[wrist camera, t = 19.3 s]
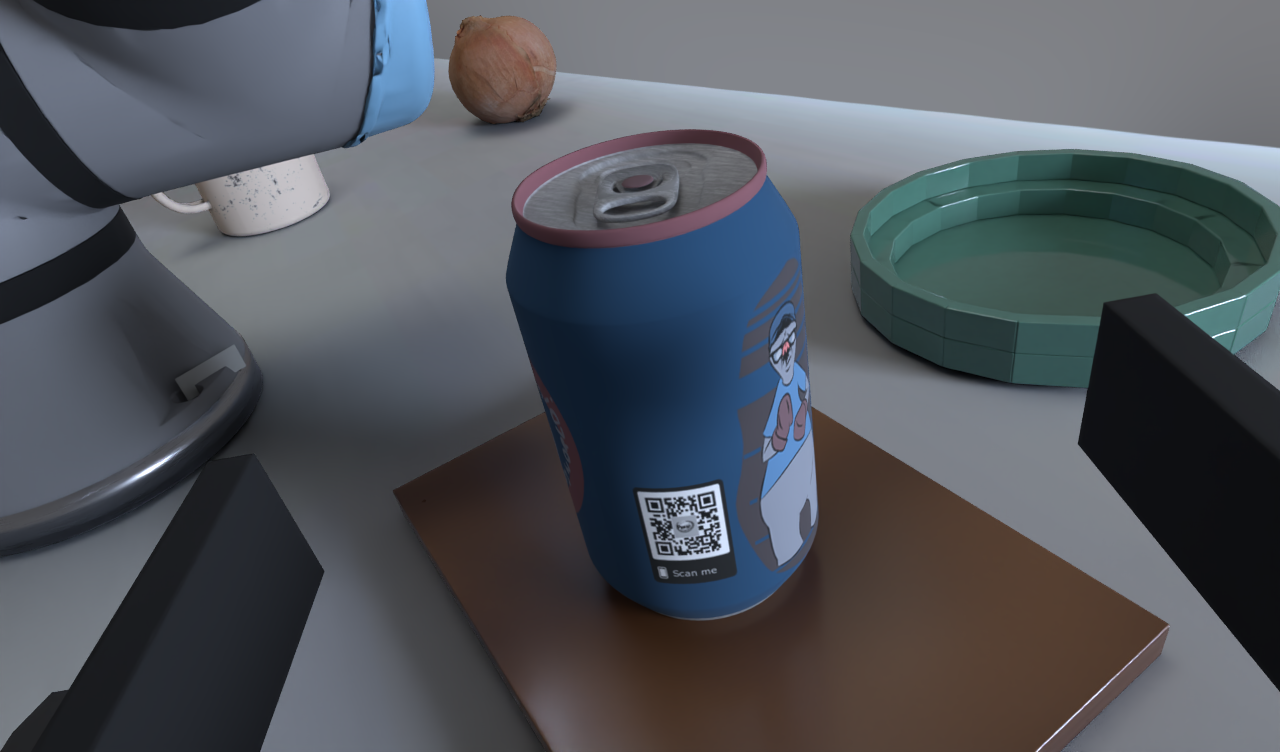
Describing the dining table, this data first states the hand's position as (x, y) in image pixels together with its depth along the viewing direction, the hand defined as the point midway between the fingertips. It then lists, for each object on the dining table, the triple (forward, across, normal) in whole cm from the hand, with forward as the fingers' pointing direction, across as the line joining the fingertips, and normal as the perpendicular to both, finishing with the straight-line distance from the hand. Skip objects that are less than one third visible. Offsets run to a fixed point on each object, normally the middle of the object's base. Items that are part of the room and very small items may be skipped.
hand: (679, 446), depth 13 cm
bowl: (+20, +17, -11) cm, 29 cm away
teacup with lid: (+49, -30, -12) cm, 59 cm away
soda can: (+7, 0, -10) cm, 13 cm away
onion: (+64, -10, -12) cm, 65 cm away
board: (+7, 0, -11) cm, 14 cm away
